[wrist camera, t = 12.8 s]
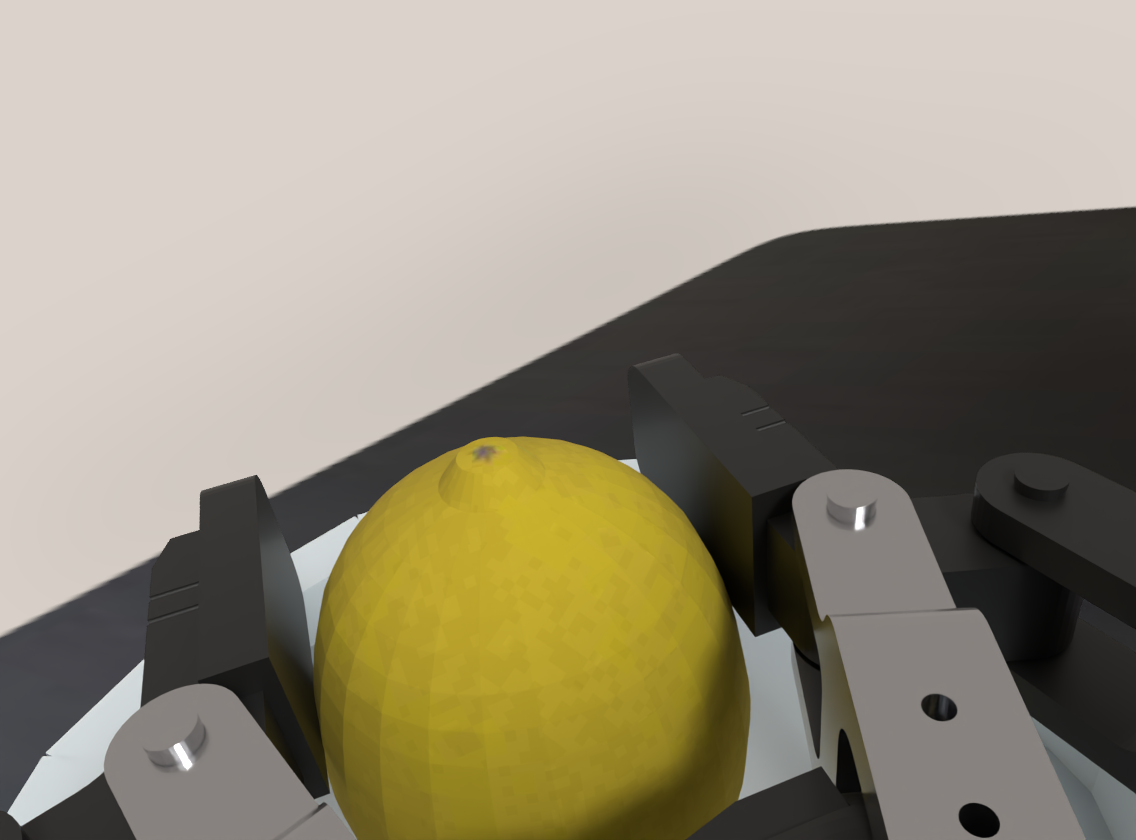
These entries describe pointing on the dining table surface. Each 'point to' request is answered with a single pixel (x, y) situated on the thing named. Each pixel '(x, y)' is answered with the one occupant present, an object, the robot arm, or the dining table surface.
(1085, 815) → the dish
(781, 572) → the robot arm
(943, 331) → the dining table surface
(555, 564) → the lemon
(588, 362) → the dining table surface
